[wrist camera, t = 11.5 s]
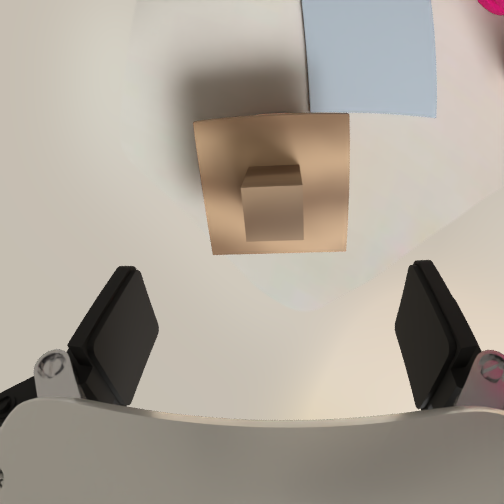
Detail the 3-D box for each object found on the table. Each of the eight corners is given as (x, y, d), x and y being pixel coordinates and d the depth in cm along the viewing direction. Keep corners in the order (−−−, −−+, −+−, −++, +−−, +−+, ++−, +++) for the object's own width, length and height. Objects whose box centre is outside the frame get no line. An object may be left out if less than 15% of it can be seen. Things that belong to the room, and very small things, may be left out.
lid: (196, 121, 25) (172, 134, 19) (346, 112, 23) (364, 124, 18) (214, 249, 31) (201, 287, 25) (344, 245, 29) (355, 284, 24)
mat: (299, -15, 22) (300, -15, 21) (429, -2, 20) (430, -2, 20) (310, 112, 28) (310, 112, 28) (434, 117, 27) (436, 117, 26)
